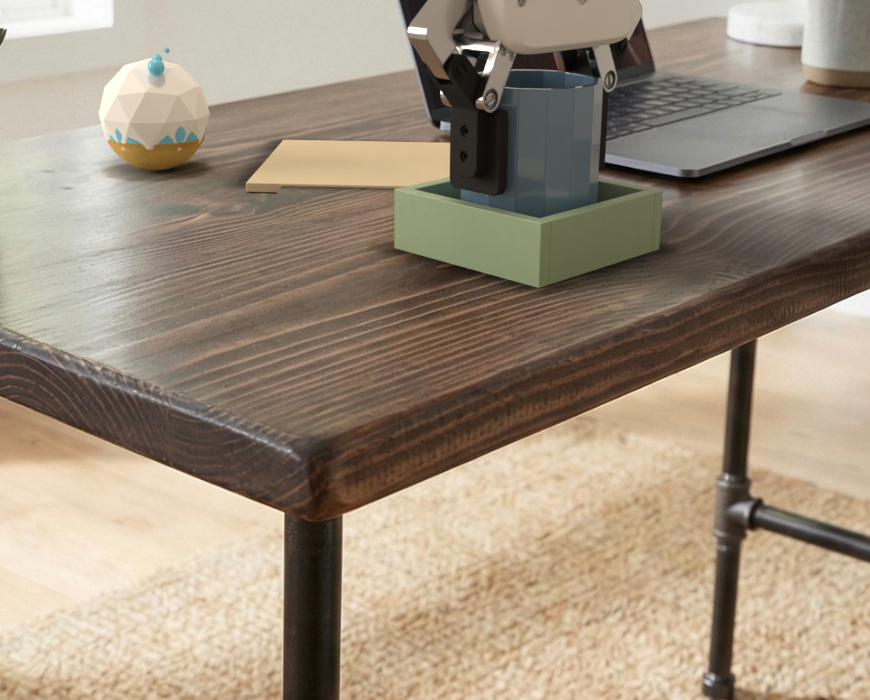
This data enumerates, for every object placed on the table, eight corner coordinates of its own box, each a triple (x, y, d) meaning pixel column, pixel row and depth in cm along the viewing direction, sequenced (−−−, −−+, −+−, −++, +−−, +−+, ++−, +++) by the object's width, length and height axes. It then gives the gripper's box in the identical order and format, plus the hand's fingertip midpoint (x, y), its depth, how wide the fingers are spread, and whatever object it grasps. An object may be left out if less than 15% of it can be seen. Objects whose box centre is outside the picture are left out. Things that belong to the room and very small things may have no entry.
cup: (589, 240, 69) (598, 70, 66) (597, 277, 63) (607, 90, 60) (462, 238, 70) (465, 68, 67) (457, 274, 63) (460, 88, 60)
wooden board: (479, 151, 92) (480, 143, 92) (474, 196, 79) (474, 187, 79) (283, 147, 93) (283, 139, 92) (246, 192, 79) (245, 182, 79)
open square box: (516, 223, 73) (518, 161, 72) (658, 257, 67) (663, 190, 65) (394, 256, 66) (393, 188, 65) (538, 296, 60) (541, 223, 59)
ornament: (84, 167, 86) (73, 44, 83) (180, 154, 90) (173, 36, 87) (133, 185, 81) (123, 55, 78) (232, 170, 85) (226, 46, 82)
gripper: (473, -222, 51) (465, 222, 57) (718, -201, 62) (690, 165, 69) (344, -215, 56) (350, 194, 62) (593, -196, 67) (577, 145, 73)
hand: (529, 176), depth 65 cm, fingers closed on cup, 6 cm apart
